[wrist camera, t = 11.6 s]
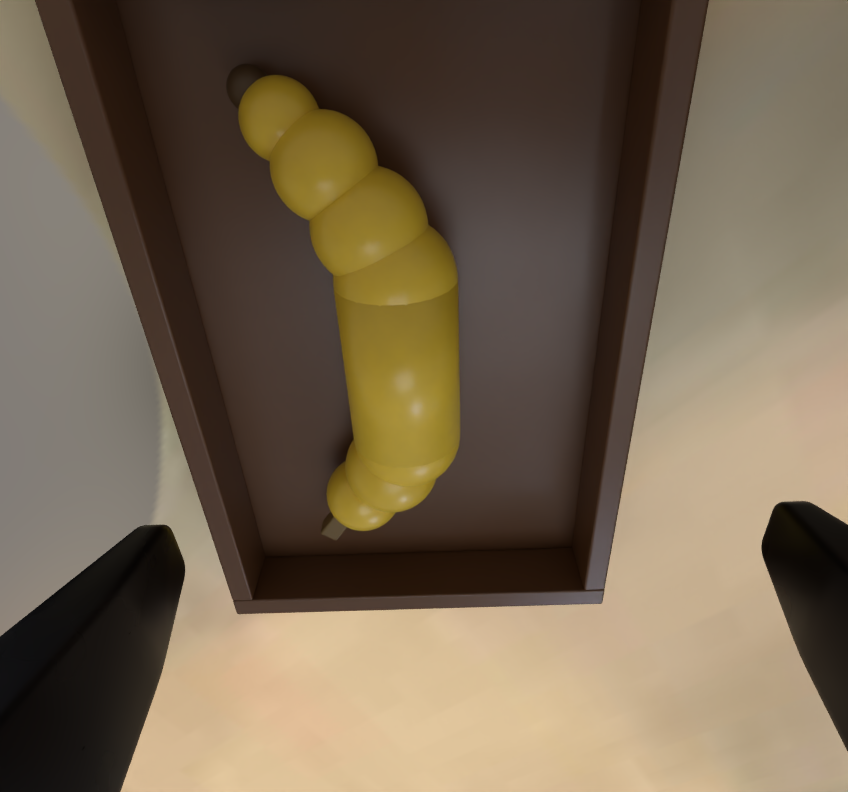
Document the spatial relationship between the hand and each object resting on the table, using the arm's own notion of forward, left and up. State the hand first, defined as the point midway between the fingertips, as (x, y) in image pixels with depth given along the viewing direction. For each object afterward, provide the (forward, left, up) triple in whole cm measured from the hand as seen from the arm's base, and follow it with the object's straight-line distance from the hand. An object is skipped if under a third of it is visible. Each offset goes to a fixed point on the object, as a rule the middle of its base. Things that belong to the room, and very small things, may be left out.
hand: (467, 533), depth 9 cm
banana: (-2, +2, -11) cm, 11 cm away
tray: (-2, +1, -11) cm, 12 cm away
